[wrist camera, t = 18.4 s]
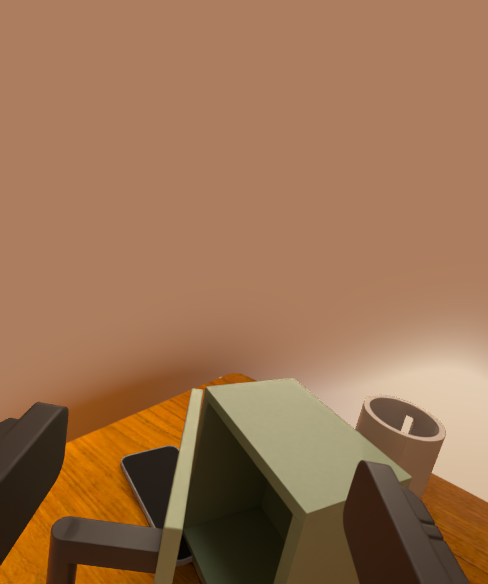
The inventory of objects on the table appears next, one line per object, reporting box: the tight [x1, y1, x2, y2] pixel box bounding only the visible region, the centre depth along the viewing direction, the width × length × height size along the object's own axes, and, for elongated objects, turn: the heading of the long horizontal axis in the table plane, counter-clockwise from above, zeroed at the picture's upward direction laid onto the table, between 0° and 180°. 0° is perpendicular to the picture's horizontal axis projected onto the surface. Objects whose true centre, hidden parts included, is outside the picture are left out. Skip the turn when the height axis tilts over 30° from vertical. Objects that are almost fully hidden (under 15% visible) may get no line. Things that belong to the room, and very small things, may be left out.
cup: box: [355, 395, 446, 501], centre depth 46 cm, size 9×9×12 cm
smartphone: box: [121, 446, 193, 567], centre depth 42 cm, size 7×1×15 cm
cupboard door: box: [46, 388, 203, 584], centre depth 29 cm, size 7×14×16 cm, turn 2°
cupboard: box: [182, 378, 412, 584], centre depth 33 cm, size 10×14×16 cm
